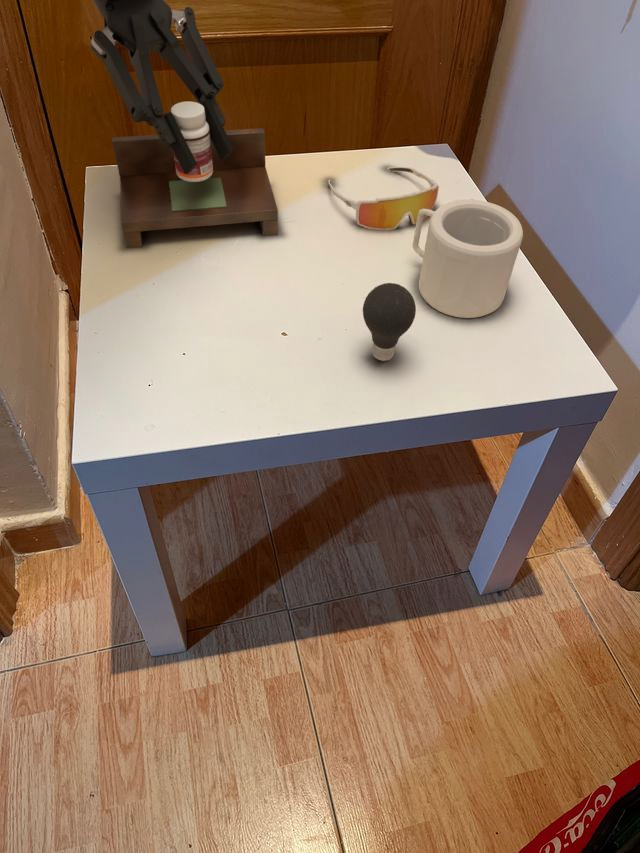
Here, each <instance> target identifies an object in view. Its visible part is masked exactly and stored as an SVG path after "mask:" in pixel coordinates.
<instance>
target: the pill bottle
mask: <svg viewBox="0 0 640 853" xmlns="http://www.w3.org/2000/svg"><path fill="white" fill-rule="evenodd" d="M170 112H171V113H172V115H173V117H174V119H175V121H176V123H177V125H178V127H179V129H180V131H181V133H182V135H183V137H184V139H185V141H186V143H187V145H188V147H189V149H190V151H191V153H192V155H193V157H194V159H195V161H196V163H197V165H196V166H195V167H194V169H193V170H192V171H191V172H189V173H187V174H185V173H184V171H183V169H182V167H181V165H180V163H179V162H178V160H177V158H176V156H175V154H174V161H175V167H176V173H177V175H178V177H179V178H181V179H182V180H185V181H189V182H199V181H203V180H206V179H208V178H209V177H210V176H211V175H212V173H213V163H212V152H211V140H210V129H209V125H208V123H207V122H206V121H205V110H204V107H203V106H202V105H201V104H200V103H199V102H195V101H181V102H177V103H175V104H174V105H172V107H171V108H170ZM173 153H174V152H173Z"/></svg>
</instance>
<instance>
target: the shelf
mask: <svg viewBox="0 0 640 853" xmlns="http://www.w3.org/2000/svg"><path fill="white" fill-rule="evenodd" d="M225 132H226V134H227V136H228V138H229V140H230V142H231V144H232V146H233V149H234V151H233V152H232V153H231V154H230V155H229V156H228V157H227V158H225V159H223V160H221V158H220V156H219V154H218V152H217V150H216V148H215V146H214V144H213V142H212V140H211V138H210V140H211V152H212V163H213V173H212V175H211V176H210V177H209V178H208V179H206V180H203V181H199V182H189V181H185V180H182V179H181V178H179V177H178V175H177V173H176V167H175V161H174V153H173V150H172V148H171V147H169V148H166V147H165V146H164V145H163V144H162V142H161V140H160V138H159V136H158V134H149V135H134V136H115V137H112V147H113V151H114V156H115V161H116V166H117V170H118V176H119V197H120V199H119V200H120V224H121V229H122V233H123V239H124V244H125V247H126V249H135V248H137V249H138V248H143V239H142V238H143V236H142V232H148V231H149V232H150V231H160V230H161V231H162V230H171V229H172V230H173V229H184V228H196V227H207V226H208V227H209V226H218V225H231V224H243V223H256V222H259V225H260V228H261V232H262V237H272V236H273V237H274V236H279V210H278V206H277V202H276V198H275V196H274V192H273V189H272V185H271V181H270V178H269V173H268V170H267V167H266V165H267V164H266V135H265V133H266V132H265V129H264V128H263V127H260V128H257V127H256V128H244V129H243V128H242V129H241V128H240V129H230V130H229V129H228V130H227V129H226V130H225Z"/></svg>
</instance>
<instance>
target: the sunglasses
mask: <svg viewBox="0 0 640 853" xmlns="http://www.w3.org/2000/svg"><path fill="white" fill-rule="evenodd" d="M387 171H389V172H396V173H397V172H402V173H403V172H404V173H409V174H413V175H414V176H416V177H418V178H421V179H423V180H425V181H426V182H427V183H428V184H429V187H427V188H424V189H422V190H419V191H415V192H411V193H408V194H407V193H406V194H402V195H397V196H390V197H380V198H376V199H374V200H373V199H372V200H358V201H357V200H354V199H351V198H348V197H346V196H345V195H342V194H340V193H339V192H338V191H337V190H336V189H335V188H334V187H333V185H332V184H331V183H332V182H331V181H332V180H331V179H328V181H327V185H328V188H329V190H330V191H331V193H332V195H333V196H335V197H337V198H338V199H339V200H340V201H342V202H343V203H344V204H345V205H346V206H347V207H349V208H352V209H353V210H355V221H356V224H357V225H358V226H360V227H362V228H365V229H369V230H378V231H392V230H393V231H394V230H395V229H396V228H397V227H398V226H400V225H401V223H402V222H403V220H404V218H405V217H406V216H407V217H408V219H409V222H410V223H411V224H412V225H413V226H414V225H416V221H417V216H418V213H419V210H421V209H430V210H433V209H434V207H435V204H436V202H437V198H438V195H439V190H440V185H439V184H438V182H436V181H435V180H434V179H432V178H431V177H429V176H428V175H426V174H425V173H423V172H421V171H419V170H417V169H416V168H414V167H408V166H390V167H387ZM427 217H428V216H427V215H423V220H425V219H426V218H427Z"/></svg>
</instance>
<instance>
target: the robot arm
mask: <svg viewBox="0 0 640 853" xmlns="http://www.w3.org/2000/svg"><path fill="white" fill-rule="evenodd" d="M92 1H93V3H94V5H95V8H96V9H97V11H98V13H99V15H100V16H101V17H102V18H103V23H104V28H103V29H101V30H96V31H94V33H93V35H92V38H91V40H90V43H89V46H90V49H91V51H92V52H93V53H94V54H95V55H96V56H97V57H98V58H99V59H100V60H101V61H102V62H103V64H104V66H105V69H106V70H107V72H108V74H109V77H110V79H111V80H112V82H113V84H114V85H115V88H116V89H117V92H118V94H119V95H120V97H121V100H122V102H123V104H124V106H125V107H126V109H127V111H128V113H129V115H130V118H132V120H133V121H134V122H135V123H138V124H139V123H141V122H145V123H146V124H147V125H148V126H149V127H153V129H154V130H155V132H156V135H158V136H159V138H160V140H161V142H162V144H163V145H164V146H165V147H166V148H169V147H171V148H172V150H173V152H174V154H175V156H176V158H177V160H178V162H179V163H180V165H181V167H182V169H183V171H184V173H185V174H187V173H189V172H191V171H192V170H193V169H194V167H195V166H196V165H197V163H196V161H195V159H194V157H193V155H192V153H191V151H190V149H189V147H188V145H187V143H186V141H185V139H184V137H183V135H182V133H181V131H180V129H179V127H178V125H177V123H176V121H175V119H174V117H173V115H172V113H171V111H169V112H166V113H164V107H163V104H162V99H161V96H160V92H159V89H158V85H157V82H156V81H157V80H156V76H155V73H154V69H153V67H152V63H151V59H150V53H158V54H159V55H160V57H161V58H162V59H163V60H165V61H167V63H168V64H169V65H170V66H171V68H172V69H173V71H174V72H175V74H176V75H177V76H178V77H179V79H180V80H181V82H183V84H184V85H185V86H186V88H187V89H188V90H189V92H190V94H192V96H193V97H194V98H195V100H196V101H197V103H199V104H201V105H202V106H203V107H204V110H205V121H206V122H207V123H208V125H209V129H210V138H211V140H212V142H213V144H214V146H215V148H216V150H217V152H218V154H219V156H220V158H221V160H223V159H225V158H227V157H228V156H229V155H230V154H231V153H232V152H233V151H234V149H233V146H232V144H231V142H230V140H229V138H228V136H227V134H226V132H225V131H226V130H225V128H224V126H225V125H226V118H225V116H224V114H223V112H222V110H221V108H220V106H219V104H218V102H217V99H216V97H217V96H218V94H219V93H220V92H221V90H222V89H223V88H224V85H225V83H224V81H223V79H222V77H221V75H220V73H219V70H218V68H217V67H216V64H215V62H214V60H213V58H212V56H211V54H210V51H209V50H208V48H207V46H206V43H205V41H204V38H203V37H202V35H201V33H200V31H199V29H198V26H197V22H196V16H195V11H194V9H193V8H191V7H190V6H186V7H185V8H184V9H183V10H178V9H172V8H171V6H170V5H169V4H168V3H167V2H166V1H165V0H92ZM172 25H174V27H175V31H176V32H177V33H179V34H180V38H181V40H182V43H183V45H184V47H185V49H186V51H187V52H185V50H184V49H183V48H182V46H181V45H180V40H179V38H178V37H177V36H176V34H175V33H174V32H173V30H172ZM116 43H118V44H119V45H121V46H122V47H123V48H125V49H126V50H127V53H128V57H129V60H130V64H131V66H132V67H133V68H134V69H133V70H134V73H135V77H136V81H137V84H138V86H139V89H138V87H137V85H136V83H135V81H134V78H133V77H132V75H131V73H130V71H129V69H128V67H127V66H126V64H125V61H124V60H123V57H122V55H121V53H120V51H119V50H118V48H117V47H116ZM187 53H188V54H187ZM188 55H189V56H188Z"/></svg>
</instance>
